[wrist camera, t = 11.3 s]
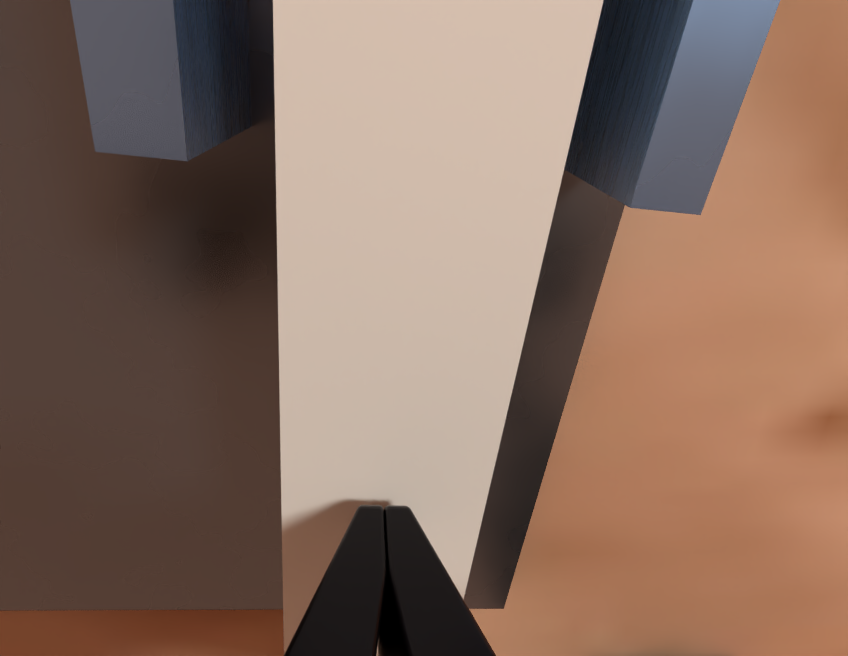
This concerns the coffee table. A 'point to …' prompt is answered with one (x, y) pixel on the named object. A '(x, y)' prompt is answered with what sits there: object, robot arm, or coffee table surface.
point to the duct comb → (257, 284)
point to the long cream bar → (409, 253)
